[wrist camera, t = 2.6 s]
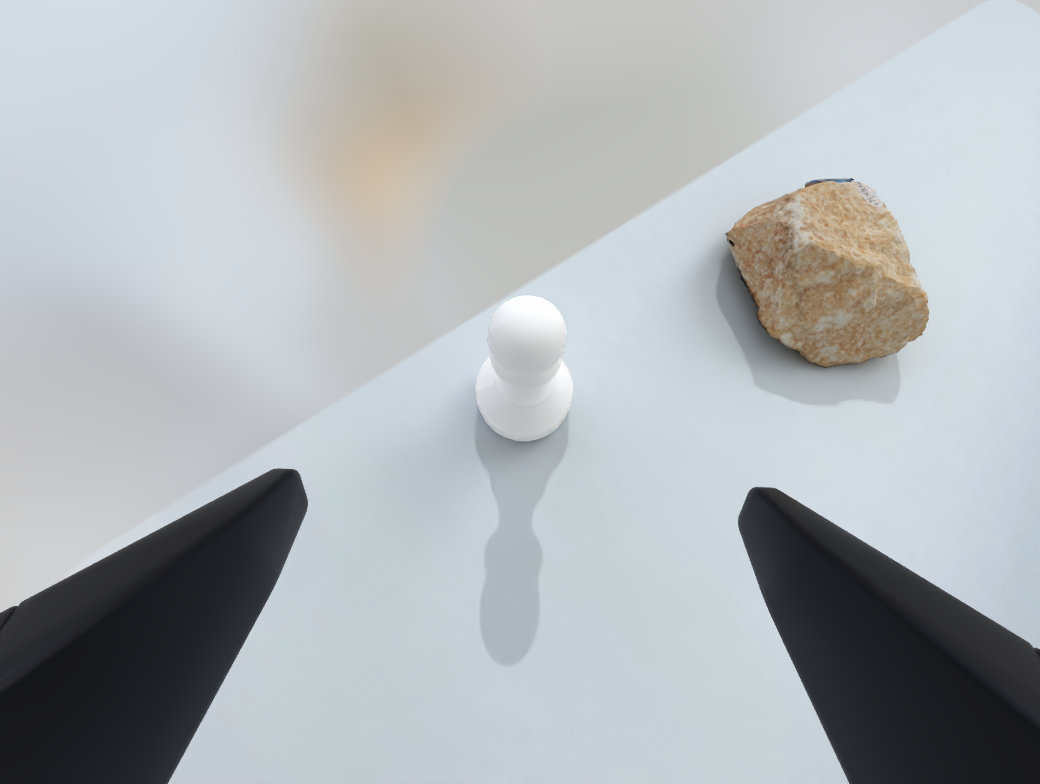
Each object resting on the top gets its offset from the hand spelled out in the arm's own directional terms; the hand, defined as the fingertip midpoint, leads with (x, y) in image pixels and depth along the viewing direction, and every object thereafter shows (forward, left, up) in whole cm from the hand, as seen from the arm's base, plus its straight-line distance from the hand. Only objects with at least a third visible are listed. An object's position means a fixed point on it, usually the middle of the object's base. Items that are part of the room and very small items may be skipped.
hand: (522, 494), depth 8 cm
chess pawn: (+6, -1, -12) cm, 14 cm away
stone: (+10, -19, -12) cm, 24 cm away
